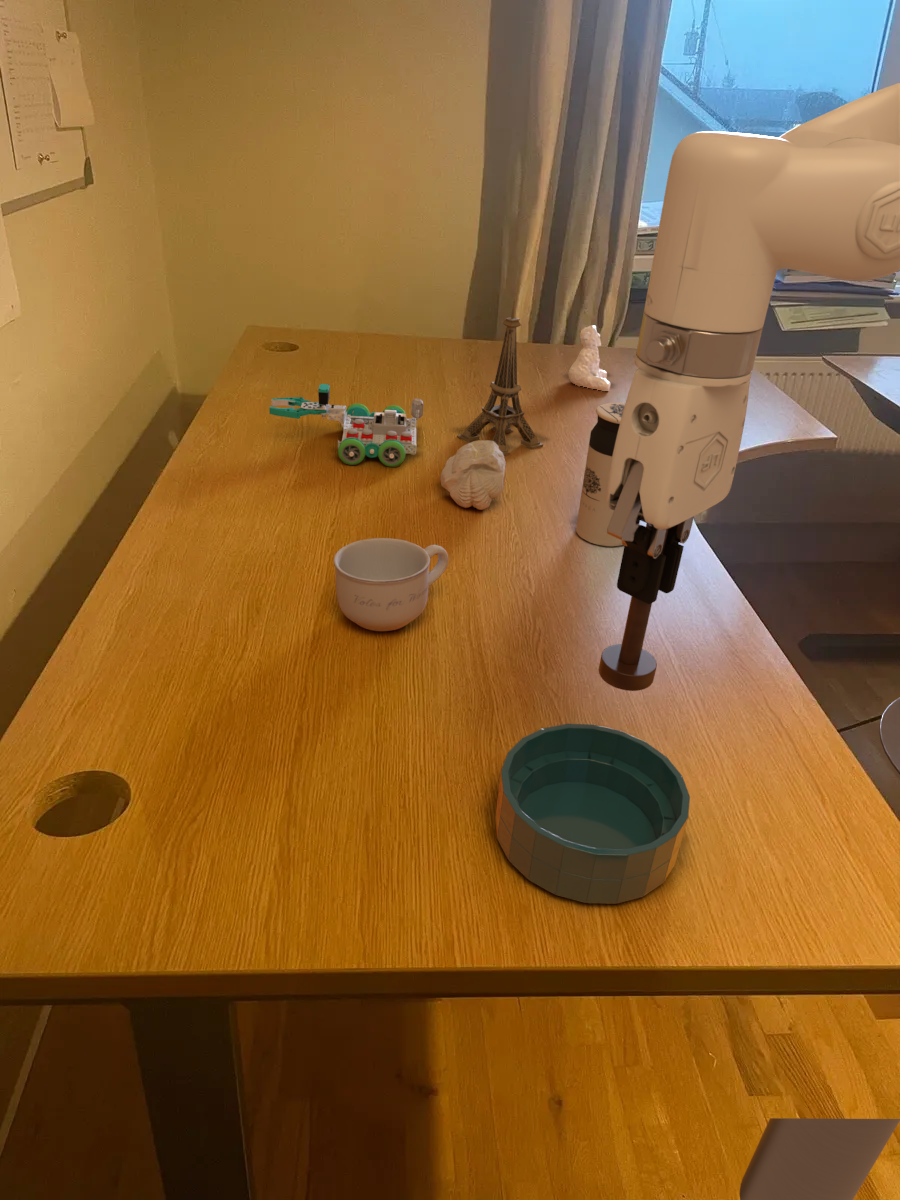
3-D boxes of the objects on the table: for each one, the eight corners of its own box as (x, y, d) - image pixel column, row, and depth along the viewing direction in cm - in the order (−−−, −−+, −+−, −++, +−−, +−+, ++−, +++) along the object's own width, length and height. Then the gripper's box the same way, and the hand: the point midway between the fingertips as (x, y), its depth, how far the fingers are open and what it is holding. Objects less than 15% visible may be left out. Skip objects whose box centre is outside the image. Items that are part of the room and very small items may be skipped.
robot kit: (277, 421, 154) (275, 368, 150) (421, 428, 156) (424, 376, 151) (262, 463, 139) (259, 405, 134) (422, 470, 140) (425, 413, 135)
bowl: (652, 776, 82) (664, 726, 79) (695, 910, 69) (712, 857, 66) (489, 772, 82) (495, 721, 78) (502, 907, 69) (510, 852, 65)
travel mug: (621, 521, 129) (643, 401, 120) (640, 547, 122) (664, 422, 113) (569, 522, 128) (587, 401, 118) (584, 548, 121) (605, 422, 112)
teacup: (349, 649, 97) (349, 586, 93) (323, 599, 105) (322, 539, 101) (466, 629, 102) (472, 569, 98) (432, 583, 110) (436, 525, 106)
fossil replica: (458, 521, 126) (518, 516, 131) (469, 468, 121) (530, 465, 126) (422, 482, 134) (479, 479, 139) (431, 431, 130) (490, 429, 135)
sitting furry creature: (610, 393, 180) (620, 333, 174) (568, 390, 180) (576, 330, 174) (605, 379, 188) (614, 321, 182) (564, 376, 188) (572, 318, 182)
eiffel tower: (543, 446, 153) (562, 296, 140) (497, 457, 147) (512, 302, 134) (502, 426, 160) (517, 282, 147) (457, 437, 154) (468, 287, 141)
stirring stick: (647, 660, 73) (680, 512, 66) (658, 692, 70) (695, 539, 63) (594, 657, 73) (622, 509, 66) (603, 689, 69) (633, 536, 62)
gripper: (683, 383, 51) (627, 650, 60) (804, 343, 61) (739, 577, 70) (577, 351, 55) (540, 605, 64) (707, 319, 65) (658, 542, 74)
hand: (644, 589), depth 67 cm, fingers closed on stirring stick
